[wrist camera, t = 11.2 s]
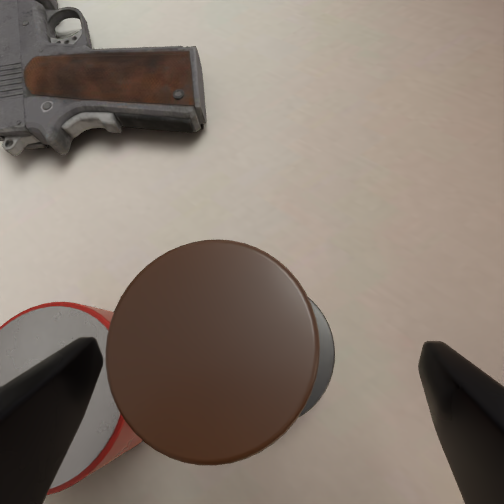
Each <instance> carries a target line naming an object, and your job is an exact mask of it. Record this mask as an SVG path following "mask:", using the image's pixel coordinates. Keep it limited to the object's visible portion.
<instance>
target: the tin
mask: <svg viewBox="0 0 504 504" xmlns="http://www.w3.org/2000/svg"><path fill="white" fill-rule="evenodd" d="M113 314H114V312H111V311H107V310H103V309H98V308H94V307H90V306H86V305H81V304H77V303H71V302H52V303H46V304H41V305H38V306H35V307H32V308H30V309H27V310H25V311H23V312H21V313H19V314H18V315H16V316H14V317H12V318H11V319H10V320H8V321H7V322H6V323H4V324H3V325H2V326H1V327H0V387H1V386H3V385H4V384H6V383H7V382H9V381H11V380H12V379H14V378H15V377H17V376H19V375H20V374H22V373H23V372H25V371H26V370H28V369H30V368H31V367H33V366H34V365H36V364H38V363H39V362H41V361H42V360H44V359H46V358H47V357H49V356H50V355H52V354H53V353H55V352H57V351H58V350H60V349H61V348H63V347H65V346H66V345H68V344H69V343H71V342H72V341H74V340H76V339H77V338H79V337H94V338H95V339H96V340H97V342H98V345H99V347H100V350H101V353H102V356H103V367H102V370H101V372H100V375H99V378H98V380H97V383H96V386H95V389H94V391H93V394H92V397H91V400H90V402H89V405H88V408H87V410H86V413H85V415H84V418H83V420H82V422H81V424H80V427H79V429H78V431H77V433H76V435H75V437H74V439H73V441H72V443H71V445H70V447H69V449H68V452H67V454H66V456H65V458H64V460H63V462H62V464H61V466H60V468H59V470H58V472H57V474H56V476H55V479H54V481H53V483H52V485H51V487H50V489H49V491H48V493H47V495H50V494H53V493H57V492H60V491H62V490H64V489H66V488H69V487H71V486H72V485H74V484H76V483H77V482H79V481H80V480H82V479H84V478H85V477H87V476H88V475H90V474H92V473H93V472H95V471H96V470H98V469H100V468H101V467H103V466H104V465H106V464H108V463H109V462H111V461H112V460H114V459H116V458H117V457H119V456H120V455H122V454H124V453H125V452H127V451H128V450H130V449H132V448H133V447H135V446H136V445H138V444H139V443H141V442H142V441H143V440H142V439H141V438H140V437H139V436H138V435H136V434H135V433H134V432H133V430H132V429H131V428H130V427H129V425H128V424H127V423H126V421H125V420H124V419H123V417H122V415H121V413H120V412H119V410H118V408H117V406H116V404H115V401H114V399H113V396H112V394H111V390H110V387H109V383H108V379H107V371H106V342H107V335H108V330H109V326H110V322H111V319H112V317H113Z"/></svg>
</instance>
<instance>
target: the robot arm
mask: <svg viewBox="0 0 504 504" xmlns="http://www.w3.org/2000/svg"><path fill="white" fill-rule="evenodd" d="M102 367H103V356H102V353H101V350H100V347H99V345H98V342H97V340H96V339H95V338H94V337H79V338H77V339H76V340H74V341H72V342H71V343H69V344H68V345H66V346H65V347H63V348H61V349H60V350H58V351H57V352H55V353H53V354H52V355H50V356H49V357H47V358H46V359H44V360H42V361H41V362H39V363H38V364H36V365H34V366H33V367H31V368H30V369H28V370H26V371H25V372H23V373H22V374H20V375H19V376H17V377H15V378H14V379H12V380H11V381H9V382H7V383H6V384H4V385H3V386H1V387H0V504H42V503H43V501H44V499H45V497H46V495H47V493H48V491H49V489H50V487H51V485H52V483H53V481H54V479H55V476H56V474H57V472H58V470H59V468H60V466H61V464H62V462H63V460H64V458H65V456H66V454H67V452H68V449H69V447H70V445H71V443H72V441H73V439H74V437H75V435H76V433H77V431H78V429H79V427H80V424H81V422H82V420H83V418H84V415H85V413H86V410H87V408H88V405H89V402H90V400H91V397H92V394H93V391H94V389H95V386H96V383H97V380H98V378H99V375H100V372H101V370H102ZM418 368H419V374H420V378H421V381H422V385H423V388H424V392H425V395H426V399H427V402H428V406H429V409H430V413H431V416H432V420H433V423H434V426H435V429H436V432H437V435H438V438H439V440H440V443H441V445H442V448H443V450H444V453H445V455H446V458H447V460H448V463H449V465H450V467H451V470H452V472H453V475H454V477H455V480H456V482H457V485H458V487H459V490H460V492H461V495H462V497H463V500H464V502H465V504H504V386H502V385H501V384H499V383H498V382H497V381H495V380H494V379H493V378H491V377H490V376H489V375H487V374H486V373H485V372H483V371H482V370H480V369H479V368H478V367H476V366H475V365H474V364H472V363H471V362H470V361H468V360H467V359H466V358H464V357H463V356H461V355H460V354H459V353H457V352H456V351H455V350H453V349H452V348H451V347H449V346H448V345H447V344H445V343H443V342H440V341H427V342H425V343H424V345H423V348H422V352H421V356H420V360H419V365H418Z"/></svg>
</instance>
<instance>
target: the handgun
mask: <svg viewBox="0 0 504 504" xmlns="http://www.w3.org/2000/svg"><path fill="white" fill-rule="evenodd" d="M67 18H78V19H80V21H81V26H82V29H81V30H80V31H79V32H77V33H76V34H74V35H72V36H70V37H67V38H62V39H57V38H56V35H55V30H54V28H55V26H56V25H57V24H58V23H59V22H60V21H62V20H64V19H67ZM203 123H206V109H205V97H204V85H203V74H202V67H201V63H200V58H199V54H198V51H197V48H196V46H192V47H188V46H187V47H185V48H184V47H183V46H171V47H142V48H113V49H92V46H91V41H90V36H89V30H88V25H87V22H86V20H85V18H84V16H83V15H82V13H81V12H80V11H79V10H78V9H76V8H73V7H65V8H61V9H58V6H57V1H56V0H0V141H3V144H2V147H3V148H4V149H5V150H6V151H8V152H9V153H10V154H12V155H15V156H16V155H19V154H20V153H21V152H22V151H23V149H34V148H47V145H50V146H51V147H52V148H53V149H54V150H56V151H57V152H58V153H59V154H62V155H65V154H67V153H68V152H69V150H70V147H71V142H72V140H73V139H74V138H75V137H77V136H78V135H79V134H81V133H82V132H84V131H85V130H88V129H91V128H105V129H106V130H107V131H108V132H113V133H121V132H122V131H121V126H124V127H135V128H146V129H157V130H169V131H180V132H197V131H198V130H200V129H203Z"/></svg>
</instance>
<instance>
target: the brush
mask: <svg viewBox="0 0 504 504" xmlns="http://www.w3.org/2000/svg"><path fill="white" fill-rule="evenodd" d="M334 362H335V348H334V341H333V336H332V332H331V330H330V327H329V324H328V322H327V320H326V318H325V316H324V315H323V313H322V312H321V310H320V309H319V308H318V307H317V306H316V304H315V303H314V302H313V301H312V300H311V299H309V298H308V297H307V294H306V292H305V291H304V289H303V288H302V286H301V285H300V283H299V282H298V280H297V279H296V278H295V277H294V275H293V274H292V273H291V272H290V271H289V270H288V269H287V268H286V267H285V266H284V265H283V264H282V263H280V262H279V261H278V260H277V259H275V258H274V257H272V256H271V255H269V254H268V253H266V252H264V251H262V250H260V249H258V248H256V247H253V246H250V245H248V244H245V243H240V242H236V241H230V240H204V241H198V242H193V243H189V244H186V245H183V246H180V247H177V248H175V249H173V250H171V251H168V252H167V253H165V254H163V255H162V256H160V257H158V258H157V259H155V260H154V261H153V262H151V263H150V264H149V265H147V266H146V267H145V268H144V269H143V270H142V271H141V272H140V273H139V274H138V275H137V276H136V277H135V278H134V280H133V281H132V282H131V283H130V285H129V286H128V287H127V289H126V290H125V292H124V294H123V295H122V297H121V298H120V300H119V302H118V305H117V307H116V309H115V311H114V314H113V317H112V319H111V322H110V326H109V330H108V335H107V342H106V371H107V379H108V383H109V387H110V390H111V394H112V396H113V399H114V401H115V404H116V406H117V408H118V410H119V412H120V413H121V415H122V417H123V419H124V420H125V421H126V423H127V424H128V425H129V427H130V428H131V429H132V430H133V432H134V433H135V434H136V435H138V436H139V437H140V438H141V439H142V440H143V441H144V442H145V443H146V444H148V445H149V446H151V447H152V448H153V449H155V450H156V451H158V452H160V453H162V454H164V455H166V456H168V457H169V458H172V459H175V460H178V461H181V462H184V463H190V464H195V465H222V464H230V463H233V462H237V461H240V460H244V459H246V458H249V457H251V456H253V455H255V454H257V453H259V452H261V451H263V450H264V449H266V448H267V447H269V446H270V445H272V444H273V443H274V442H276V441H277V440H278V439H279V438H280V437H281V436H282V435H284V434H285V433H286V432H287V430H288V429H289V428H290V427H291V426H292V425H293V423H294V422H295V421H296V420H297V418H298V417H300V416H302V415H303V414H305V413H306V412H307V411H309V410H310V409H311V408H312V407H313V406H314V405H315V404H316V403H317V402H318V401H319V399H320V398H321V397H322V395H323V394H324V392H325V391H326V389H327V386H328V384H329V382H330V379H331V376H332V373H333V368H334Z"/></svg>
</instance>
